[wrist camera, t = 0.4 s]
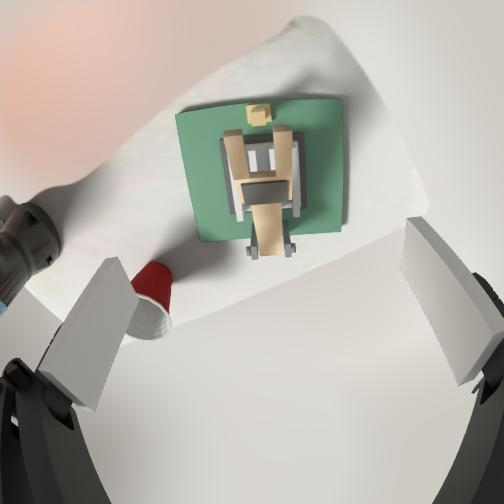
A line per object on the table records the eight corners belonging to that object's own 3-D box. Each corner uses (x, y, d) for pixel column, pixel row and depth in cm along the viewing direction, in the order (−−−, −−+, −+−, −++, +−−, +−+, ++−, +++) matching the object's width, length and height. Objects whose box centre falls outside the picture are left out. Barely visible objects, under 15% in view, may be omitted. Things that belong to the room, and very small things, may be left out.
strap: (252, 251, 38) (252, 258, 37) (223, 130, 19) (222, 139, 19) (290, 248, 37) (290, 256, 37) (290, 124, 19) (292, 133, 18)
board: (202, 237, 44) (190, 272, 36) (177, 113, 33) (153, 121, 26) (338, 227, 42) (354, 260, 35) (339, 99, 31) (362, 102, 24)
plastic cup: (194, 292, 51) (181, 342, 41) (146, 298, 53) (127, 343, 43) (174, 245, 45) (152, 292, 35) (123, 254, 47) (95, 298, 37)
